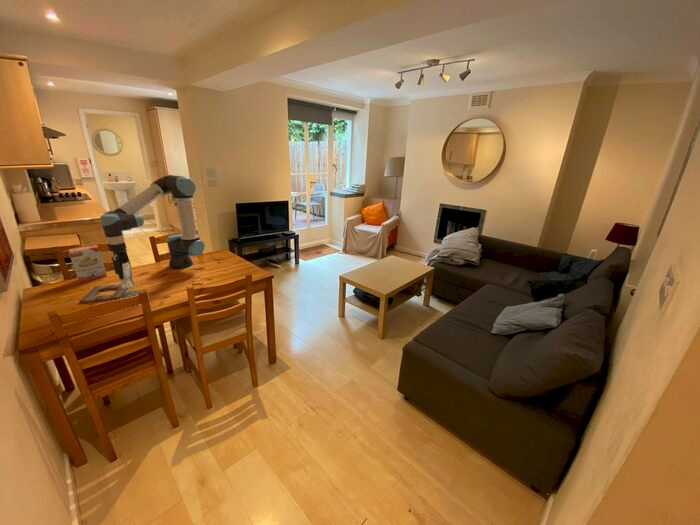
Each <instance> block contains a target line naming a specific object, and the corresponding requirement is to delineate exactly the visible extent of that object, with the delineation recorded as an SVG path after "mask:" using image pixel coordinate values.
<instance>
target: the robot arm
mask: <svg viewBox="0 0 700 525" xmlns="http://www.w3.org/2000/svg"><path fill="white" fill-rule="evenodd" d="M195 192H196V184H195V182H194V181H193V180H192V179H191V178H190V177H187V176H184V175H183V176H182V175H173V174H172V175H171V174H167V175H164V176H162V177H160V178H158V179H156V180H154V181H153V182H151V183H150V185H149V186H148V187H147V188H145V189H144V190H143V191H141V192H140V193H138V194H137V195H136V196H135V195H134V197H132V198H131V199H129V200H128V201H126V202H125V203H123V204H121V205H120V206H119V207H117V208H116V209H115V210H113V211H112V210H108V211H106V212H104V213H103V214H102V215H100V224H101V227H102V229H103V233H104V236H105V237H104V239H105V240H106V243H107V247H108V251H110V252H113V256H111V261H112V264H113V267H114V268H113V269H114V274H115V275H117V274H118V275H119V277H118V279H119V282H120V284H127V280H126V277H125V273H123V266H122V263H126V260H128V261H129V264H130V266H131V267H132V264H131V261H130V258H129V255H128V250H127V245H126V241H125V237H124V233H123V231H126V230H130V229H136V228H139V227H140V228H141V227H142V226H144V224H145V219H144V217H143V216H142V214H140V213H138V212H140V211H141V210H143V209H144V208H146V207H147V206H148V205H150V204H151V203H153V202H154V201H156V200H157V199H158V198H160V197H164V196H166V195H168V194H171V195H172V199H174V200H175V201H176V202H175V203H176V207H177V212H178V218H179V223H180V227H181V228H180V229H181V233H179V234H178V233H176V234H172V235H168V236H167V237H166V243H167V248H168V252H169V261H168V266H169V268H170V269H173V270H182V269H186V268H189V267H191V266H192V265H193V264H194V263H193V259H192V258H191V257H198V256H200V255H201V254H203V252H204V250H205V243H204V241H202V239H200V235H199V234H198V233H197V228H196V222H195V217H194V209H193V205H192V199H193V198H194V195H195ZM118 275H117V276H118Z"/></svg>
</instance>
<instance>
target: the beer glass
mask: <svg viewBox="0 0 700 525" xmlns="http://www.w3.org/2000/svg"><path fill="white" fill-rule="evenodd" d="M129 261H130V260H129ZM129 261H128V260H126V263H122V266H123V273H125V277H126V280H127V284H121V283H120V284H121V287H122V288H124V289H126V288H128V289H131V288H132V287H133V288H134V286H135V283H134V280H133V276H132V274H133V273H132V265H131V263H130V264H129ZM130 265H131V266H130ZM116 275H117V277H118V278H119V275H118V274H116Z"/></svg>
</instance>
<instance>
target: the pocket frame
mask: <svg viewBox="0 0 700 525" xmlns="http://www.w3.org/2000/svg"><path fill="white" fill-rule="evenodd" d="M128 289H129V288H126V289H124V288H122V287H121V283H120V284H119V283H118V284H109V285H108V284H107V285H97V286H93V287H92V288H91V289H90V290H89V291H88V292H87V293H86V294H85V295H84V296H83V297H81V299H80V300H79V303H80V304H87V303H86V302H88V303H95V302H94V301H98V302H103V301H102V300H106V301H108V302H109V301H116V300H115V299H118V300H119V298H120V296H121V295H122V294H123V293H125V292H127V290H128ZM113 290H115V291H114V292H113V294H106V295H98V294H99V293H100V292H101V291H102V292H103V291H113ZM106 301H105V302H106Z"/></svg>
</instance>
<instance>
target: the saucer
mask: <svg viewBox="0 0 700 525" xmlns="http://www.w3.org/2000/svg"><path fill="white" fill-rule="evenodd" d="M138 291H139V290H137V289H135V290H129V291H126V292H125V293H123V294H122V295H121V296H120V298H126V297H131V296H137V294H138ZM129 295H130V296H129ZM120 298H119V299H120ZM119 299H118V300H119Z"/></svg>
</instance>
